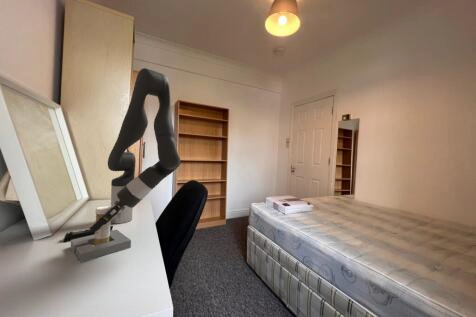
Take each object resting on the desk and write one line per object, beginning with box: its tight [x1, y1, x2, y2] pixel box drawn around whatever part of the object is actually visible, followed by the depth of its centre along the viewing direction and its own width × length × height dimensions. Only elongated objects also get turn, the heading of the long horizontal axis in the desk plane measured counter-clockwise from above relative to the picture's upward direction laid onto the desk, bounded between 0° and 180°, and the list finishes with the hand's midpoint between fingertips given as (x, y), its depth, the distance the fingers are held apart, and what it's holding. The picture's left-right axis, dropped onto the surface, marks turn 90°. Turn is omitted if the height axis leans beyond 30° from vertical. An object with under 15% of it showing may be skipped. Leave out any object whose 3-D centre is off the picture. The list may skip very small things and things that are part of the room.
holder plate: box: [70, 229, 132, 263], centre depth 68 cm, size 14×14×2 cm
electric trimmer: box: [62, 225, 114, 243], centre depth 77 cm, size 4×16×3 cm, turn 129°
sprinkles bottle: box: [94, 205, 111, 246], centre depth 68 cm, size 5×5×14 cm
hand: (95, 227), depth 68 cm, fingers open, 5 cm apart
